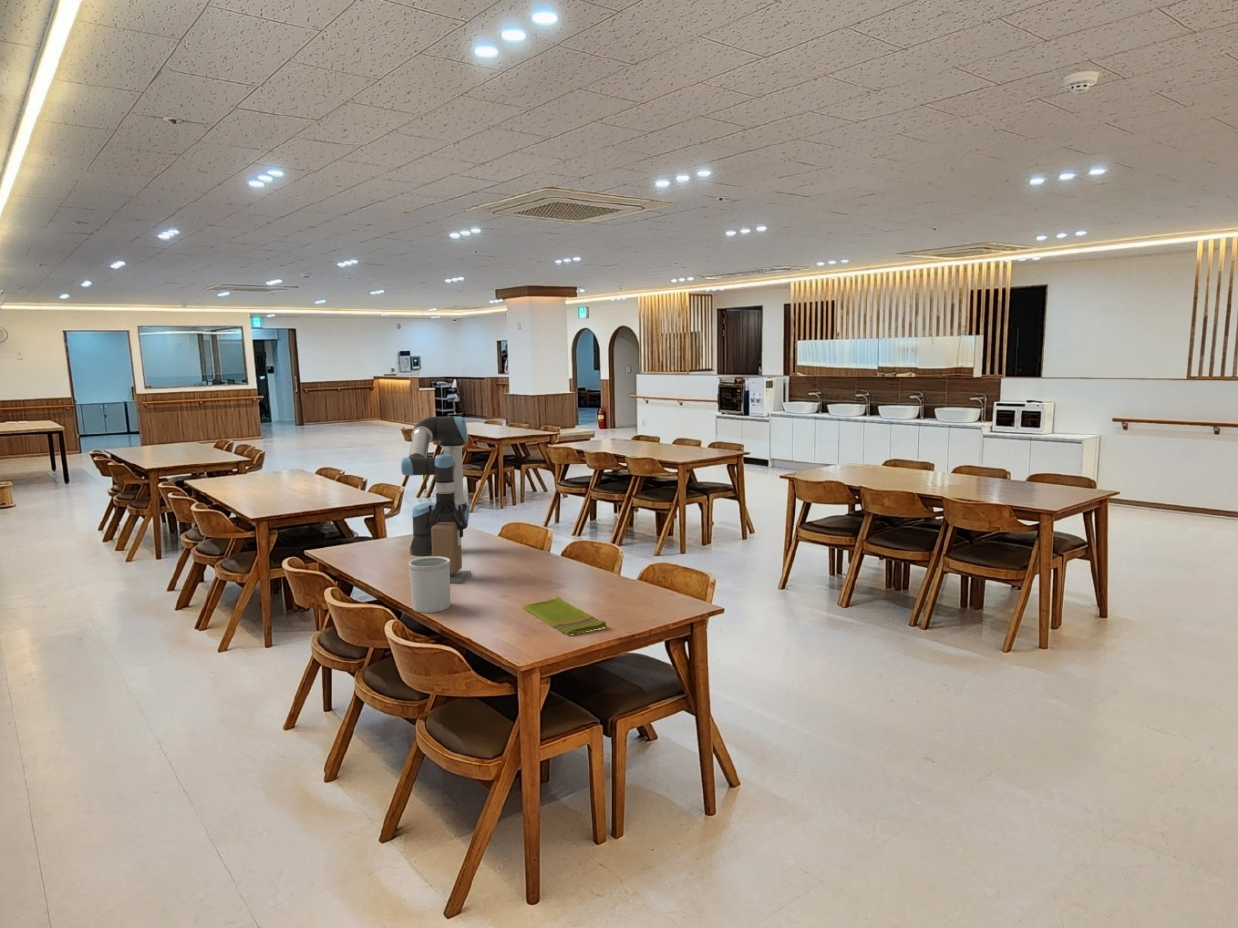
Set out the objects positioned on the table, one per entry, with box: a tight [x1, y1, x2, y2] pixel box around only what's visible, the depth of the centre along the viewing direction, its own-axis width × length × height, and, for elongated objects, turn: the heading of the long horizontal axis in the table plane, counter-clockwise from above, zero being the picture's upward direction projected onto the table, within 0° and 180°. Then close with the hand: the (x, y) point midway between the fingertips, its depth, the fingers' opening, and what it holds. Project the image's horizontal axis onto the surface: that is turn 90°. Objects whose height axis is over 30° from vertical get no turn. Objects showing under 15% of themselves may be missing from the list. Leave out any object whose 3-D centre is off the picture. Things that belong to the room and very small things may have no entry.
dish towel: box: [523, 596, 607, 636], centre depth 278 cm, size 15×36×3 cm, turn 31°
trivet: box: [450, 570, 472, 585], centre depth 331 cm, size 16×16×1 cm
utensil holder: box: [408, 555, 451, 614], centre depth 290 cm, size 15×15×18 cm
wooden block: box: [431, 522, 463, 574], centre depth 329 cm, size 10×10×20 cm
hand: (446, 544), depth 329 cm, fingers closed on wooden block, 10 cm apart
